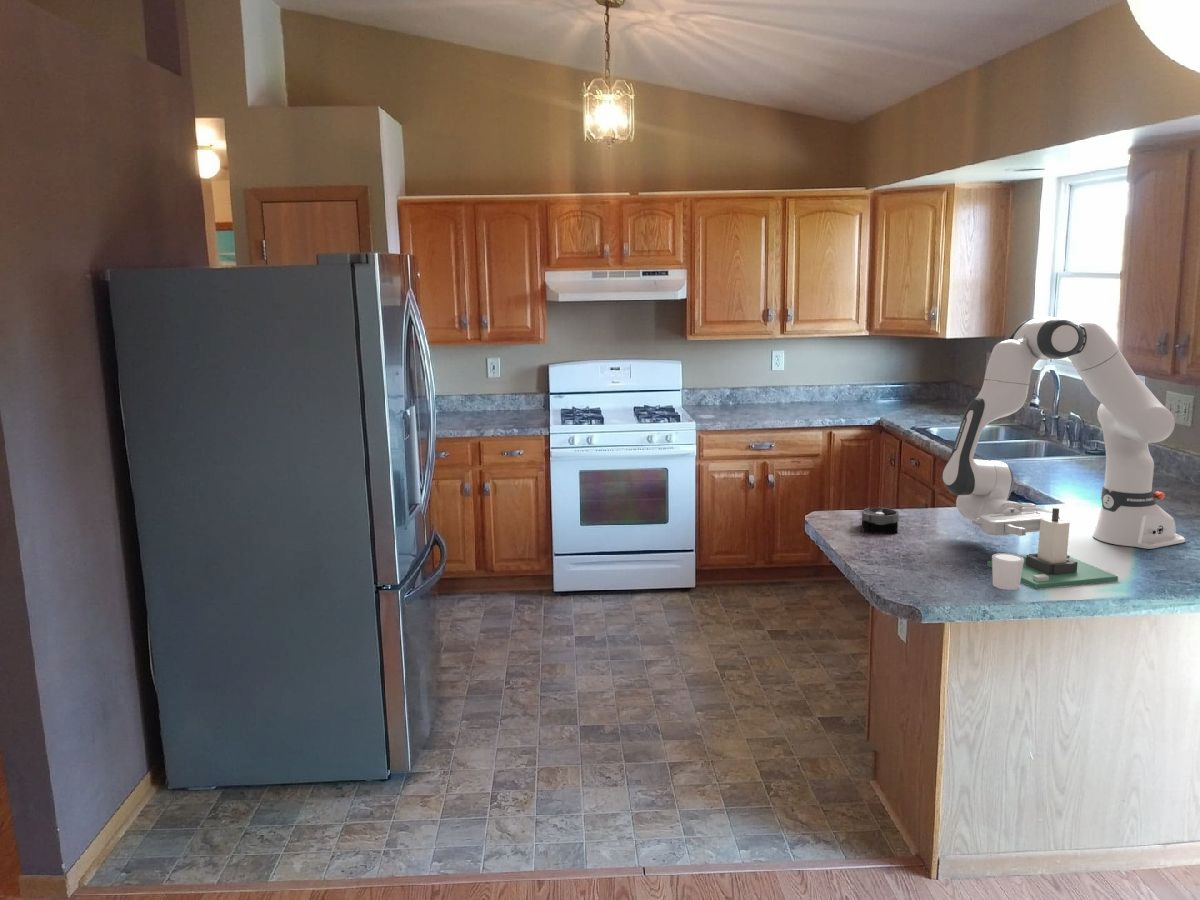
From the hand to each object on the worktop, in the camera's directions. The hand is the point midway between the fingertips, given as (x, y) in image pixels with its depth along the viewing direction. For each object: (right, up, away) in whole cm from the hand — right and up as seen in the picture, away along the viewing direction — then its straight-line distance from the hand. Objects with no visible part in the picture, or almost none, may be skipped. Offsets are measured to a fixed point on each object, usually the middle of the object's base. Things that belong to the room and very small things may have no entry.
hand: (1040, 531), depth 217 cm
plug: (+1, -9, -3) cm, 9 cm away
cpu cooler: (-28, -3, +37) cm, 47 cm away
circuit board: (+1, -10, -3) cm, 10 cm away
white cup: (-13, -12, -11) cm, 21 cm away
